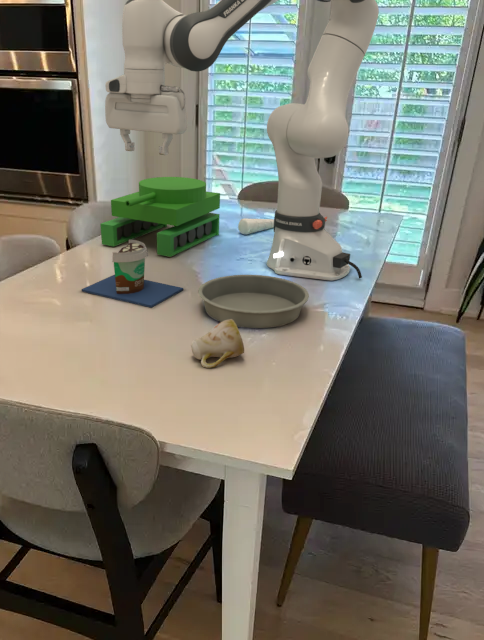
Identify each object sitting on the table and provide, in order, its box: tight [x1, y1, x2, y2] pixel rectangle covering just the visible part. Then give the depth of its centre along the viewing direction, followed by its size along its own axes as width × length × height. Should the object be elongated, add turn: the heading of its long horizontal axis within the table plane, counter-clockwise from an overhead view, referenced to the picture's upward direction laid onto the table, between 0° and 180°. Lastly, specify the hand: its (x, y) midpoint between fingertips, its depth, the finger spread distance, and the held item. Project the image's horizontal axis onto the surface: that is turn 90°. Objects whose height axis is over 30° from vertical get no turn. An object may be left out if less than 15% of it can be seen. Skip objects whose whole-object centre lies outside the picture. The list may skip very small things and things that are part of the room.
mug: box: [190, 319, 245, 369], centre depth 114 cm, size 8×10×10 cm
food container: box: [111, 239, 149, 294], centre depth 142 cm, size 12×6×10 cm, turn 168°
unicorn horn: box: [237, 217, 274, 235], centre depth 197 cm, size 5×24×5 cm, turn 130°
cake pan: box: [197, 274, 310, 329], centre depth 135 cm, size 25×25×4 cm
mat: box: [81, 274, 184, 309], centre depth 145 cm, size 20×14×1 cm
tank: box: [100, 176, 221, 258], centre depth 178 cm, size 24×35×16 cm
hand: (146, 152), depth 140 cm, fingers open, 8 cm apart
